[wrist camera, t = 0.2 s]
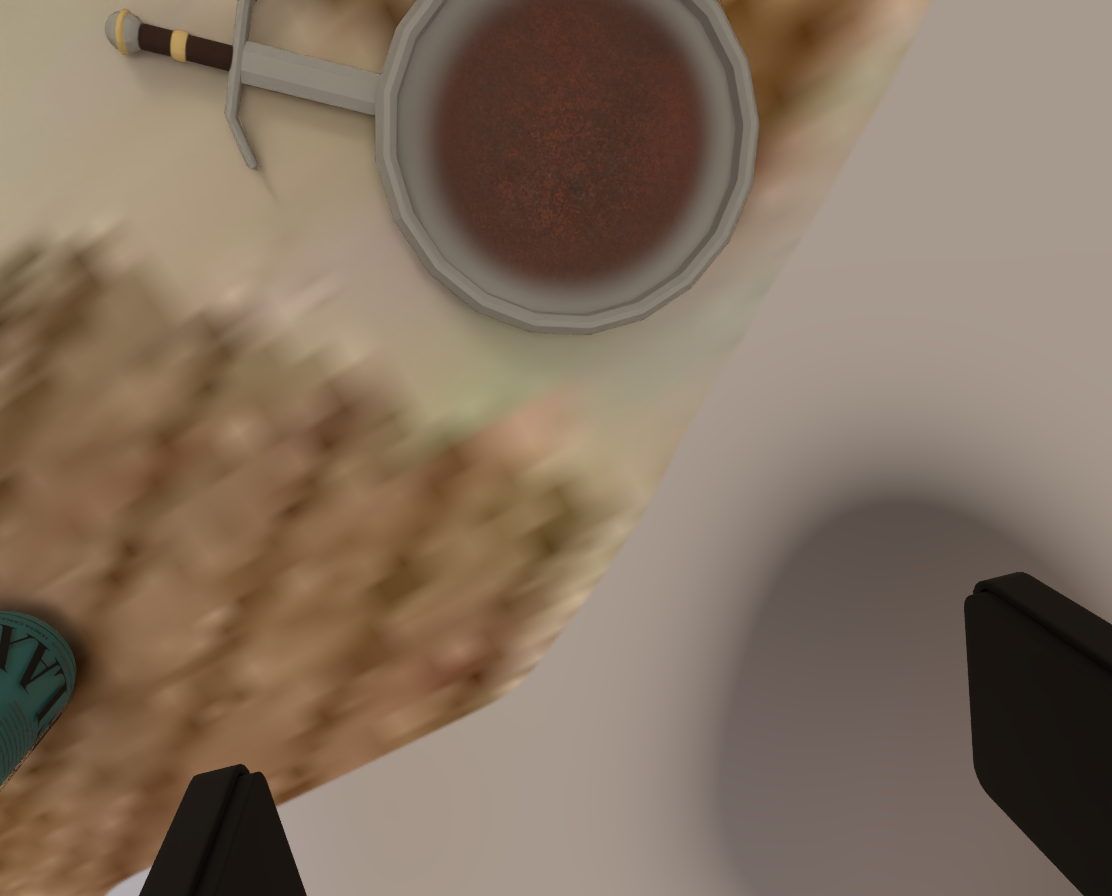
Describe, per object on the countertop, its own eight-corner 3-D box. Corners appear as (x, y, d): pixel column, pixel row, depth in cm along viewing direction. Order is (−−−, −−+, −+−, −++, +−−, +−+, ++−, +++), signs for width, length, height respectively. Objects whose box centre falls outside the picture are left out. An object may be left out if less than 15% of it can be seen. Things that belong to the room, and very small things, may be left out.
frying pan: (111, -230, 31) (815, -23, 35) (140, -192, 33) (789, -5, 38) (73, 239, 34) (711, 371, 39) (102, 237, 37) (694, 361, 42)
